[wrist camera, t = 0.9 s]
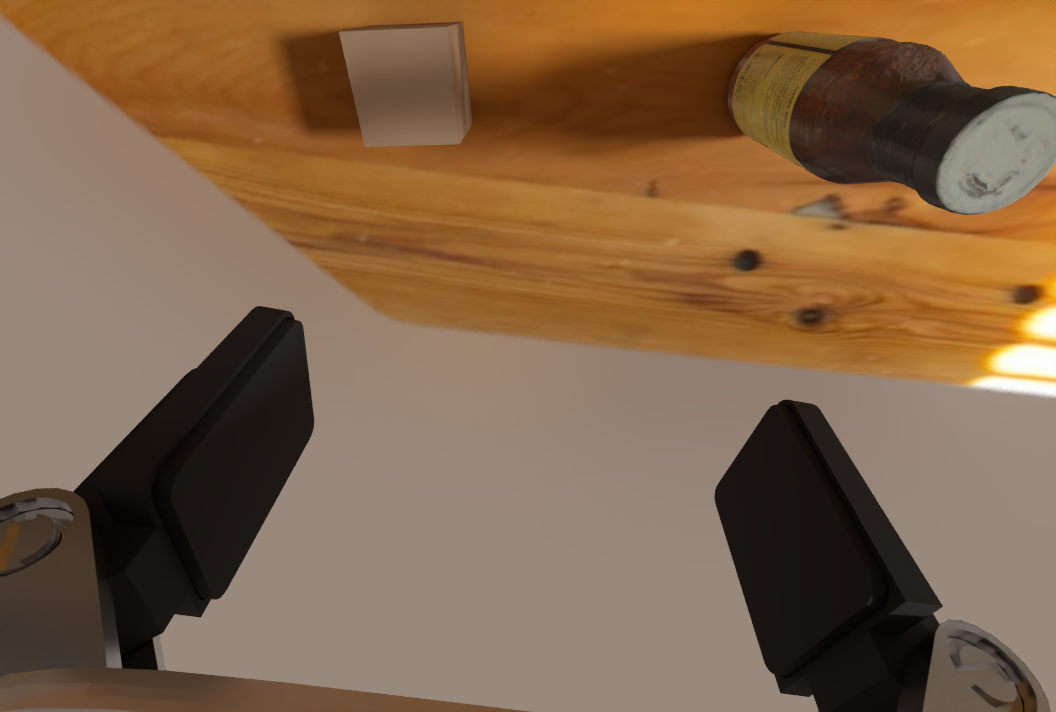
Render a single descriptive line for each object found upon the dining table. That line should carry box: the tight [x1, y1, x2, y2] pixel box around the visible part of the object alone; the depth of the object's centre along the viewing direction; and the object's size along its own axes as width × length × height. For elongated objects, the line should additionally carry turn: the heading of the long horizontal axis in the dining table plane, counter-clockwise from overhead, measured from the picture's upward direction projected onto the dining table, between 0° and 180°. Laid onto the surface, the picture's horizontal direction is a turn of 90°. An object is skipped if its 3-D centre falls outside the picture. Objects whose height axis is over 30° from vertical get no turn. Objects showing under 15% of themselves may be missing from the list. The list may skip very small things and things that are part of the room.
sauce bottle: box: [727, 32, 1056, 215], centre depth 24 cm, size 7×6×20 cm
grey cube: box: [339, 22, 473, 147], centre depth 31 cm, size 6×6×6 cm
